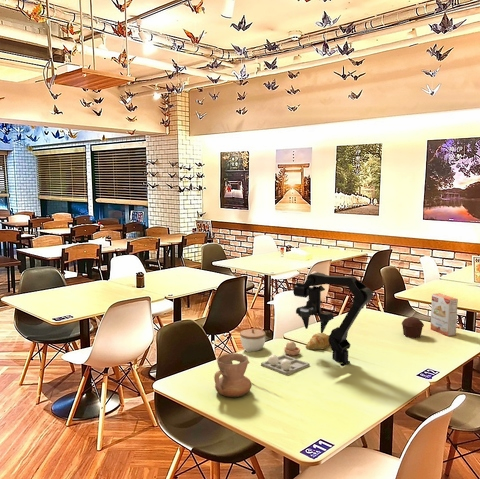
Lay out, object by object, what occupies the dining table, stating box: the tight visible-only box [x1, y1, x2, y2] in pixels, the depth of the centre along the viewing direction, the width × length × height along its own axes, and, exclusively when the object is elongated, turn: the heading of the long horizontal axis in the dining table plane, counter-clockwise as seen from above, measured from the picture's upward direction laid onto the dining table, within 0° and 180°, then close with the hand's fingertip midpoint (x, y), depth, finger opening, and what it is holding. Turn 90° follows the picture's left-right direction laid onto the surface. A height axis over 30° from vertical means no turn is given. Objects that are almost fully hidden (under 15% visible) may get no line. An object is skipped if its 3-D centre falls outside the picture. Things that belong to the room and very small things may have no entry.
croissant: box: [305, 332, 330, 350], centre depth 236 cm, size 21×10×8 cm, turn 132°
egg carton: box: [260, 354, 310, 376], centre depth 207 cm, size 16×16×2 cm
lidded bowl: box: [240, 328, 266, 353], centre depth 229 cm, size 13×13×11 cm
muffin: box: [401, 316, 425, 339], centre depth 251 cm, size 12×11×10 cm
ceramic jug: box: [213, 352, 252, 398], centre depth 181 cm, size 18×14×14 cm
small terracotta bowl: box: [283, 346, 301, 357], centre depth 221 cm, size 7×7×4 cm
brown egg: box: [285, 340, 297, 351], centre depth 222 cm, size 5×5×5 cm
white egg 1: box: [267, 354, 279, 366], centre depth 207 cm, size 5×5×5 cm
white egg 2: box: [281, 359, 291, 370], centre depth 201 cm, size 5×5×5 cm
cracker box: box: [430, 293, 459, 337], centre depth 256 cm, size 14×6×21 cm, turn 17°
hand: (314, 330), depth 220 cm, fingers open, 9 cm apart
